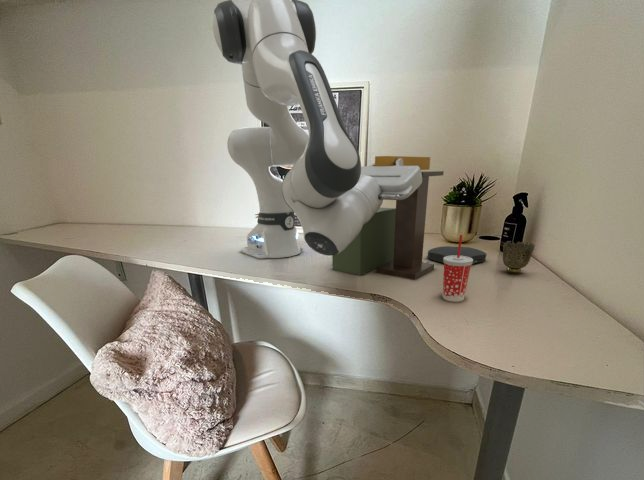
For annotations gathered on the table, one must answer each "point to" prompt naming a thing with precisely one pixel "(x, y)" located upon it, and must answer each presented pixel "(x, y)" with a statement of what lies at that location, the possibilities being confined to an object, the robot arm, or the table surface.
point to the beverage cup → (456, 275)
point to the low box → (369, 245)
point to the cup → (516, 256)
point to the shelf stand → (410, 234)
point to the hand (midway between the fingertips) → (391, 161)
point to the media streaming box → (445, 251)
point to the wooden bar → (404, 161)
